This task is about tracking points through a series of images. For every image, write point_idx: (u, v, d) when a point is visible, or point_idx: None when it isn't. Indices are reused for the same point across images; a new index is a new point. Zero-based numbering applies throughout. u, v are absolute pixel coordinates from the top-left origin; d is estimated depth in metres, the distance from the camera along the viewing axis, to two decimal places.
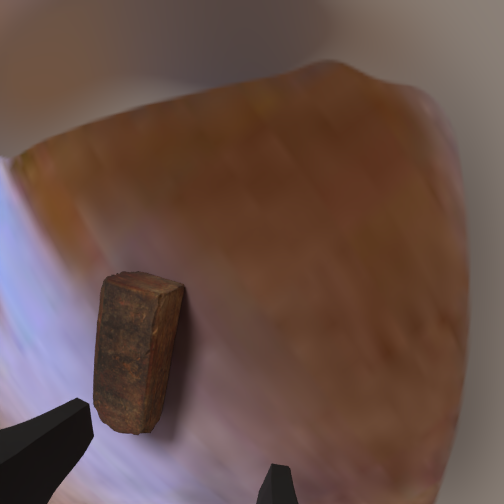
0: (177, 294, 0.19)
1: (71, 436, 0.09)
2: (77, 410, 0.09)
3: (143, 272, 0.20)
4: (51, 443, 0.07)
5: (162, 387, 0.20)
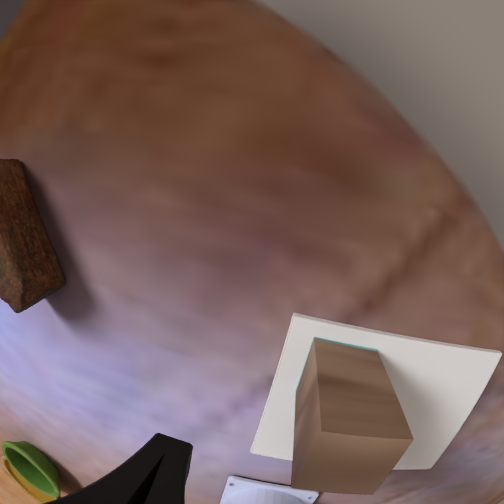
0: (9, 164, 0.17)
1: None
2: (166, 448, 0.09)
3: None
4: (144, 489, 0.07)
5: (40, 244, 0.19)
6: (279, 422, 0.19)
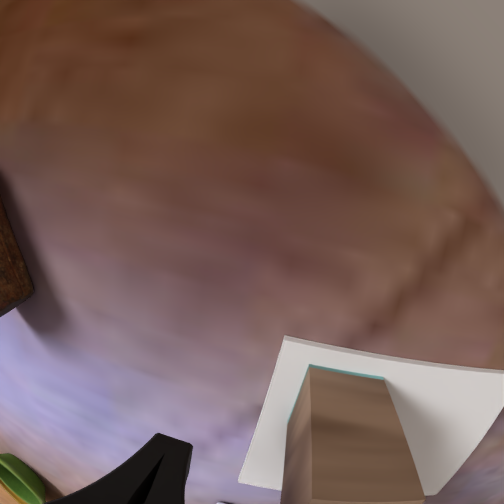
0: None
1: None
2: (166, 448, 0.09)
3: None
4: (144, 489, 0.07)
5: (6, 249, 0.15)
6: (269, 454, 0.16)
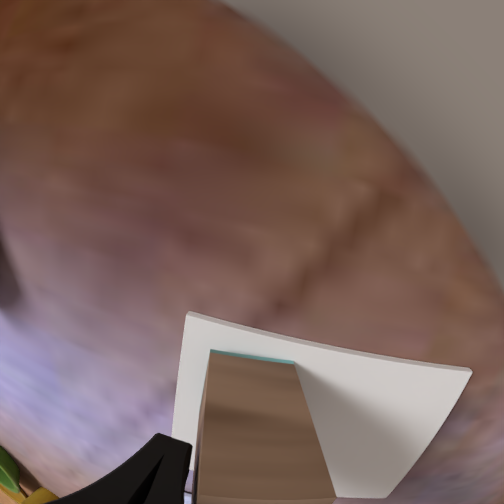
0: None
1: None
2: (166, 448, 0.09)
3: None
4: (145, 489, 0.07)
5: None
6: (191, 434, 0.17)
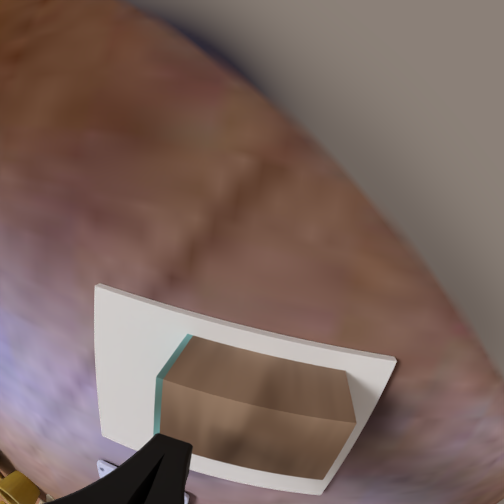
0: None
1: None
2: (166, 448, 0.09)
3: None
4: (144, 489, 0.07)
5: None
6: (114, 406, 0.17)
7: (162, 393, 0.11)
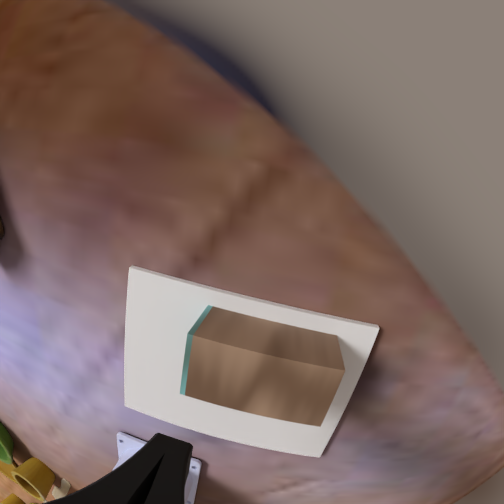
0: None
1: None
2: (166, 448, 0.09)
3: None
4: (144, 489, 0.07)
5: None
6: (139, 375, 0.21)
7: (191, 348, 0.15)
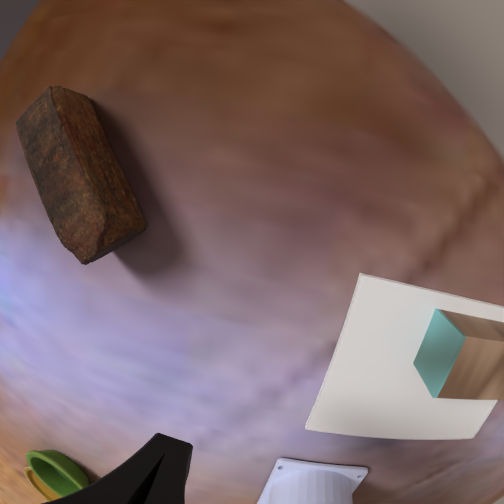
0: (80, 97, 0.17)
1: None
2: (166, 448, 0.09)
3: None
4: (144, 489, 0.07)
5: (119, 182, 0.18)
6: (339, 392, 0.19)
7: (461, 348, 0.13)
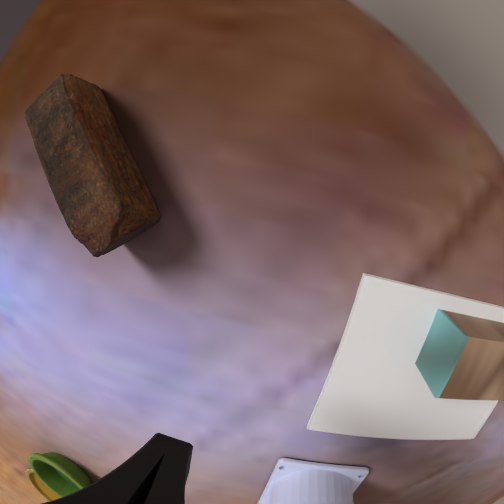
0: (91, 87, 0.16)
1: None
2: (166, 448, 0.09)
3: None
4: (144, 489, 0.07)
5: (133, 172, 0.17)
6: (341, 392, 0.19)
7: (463, 349, 0.13)
